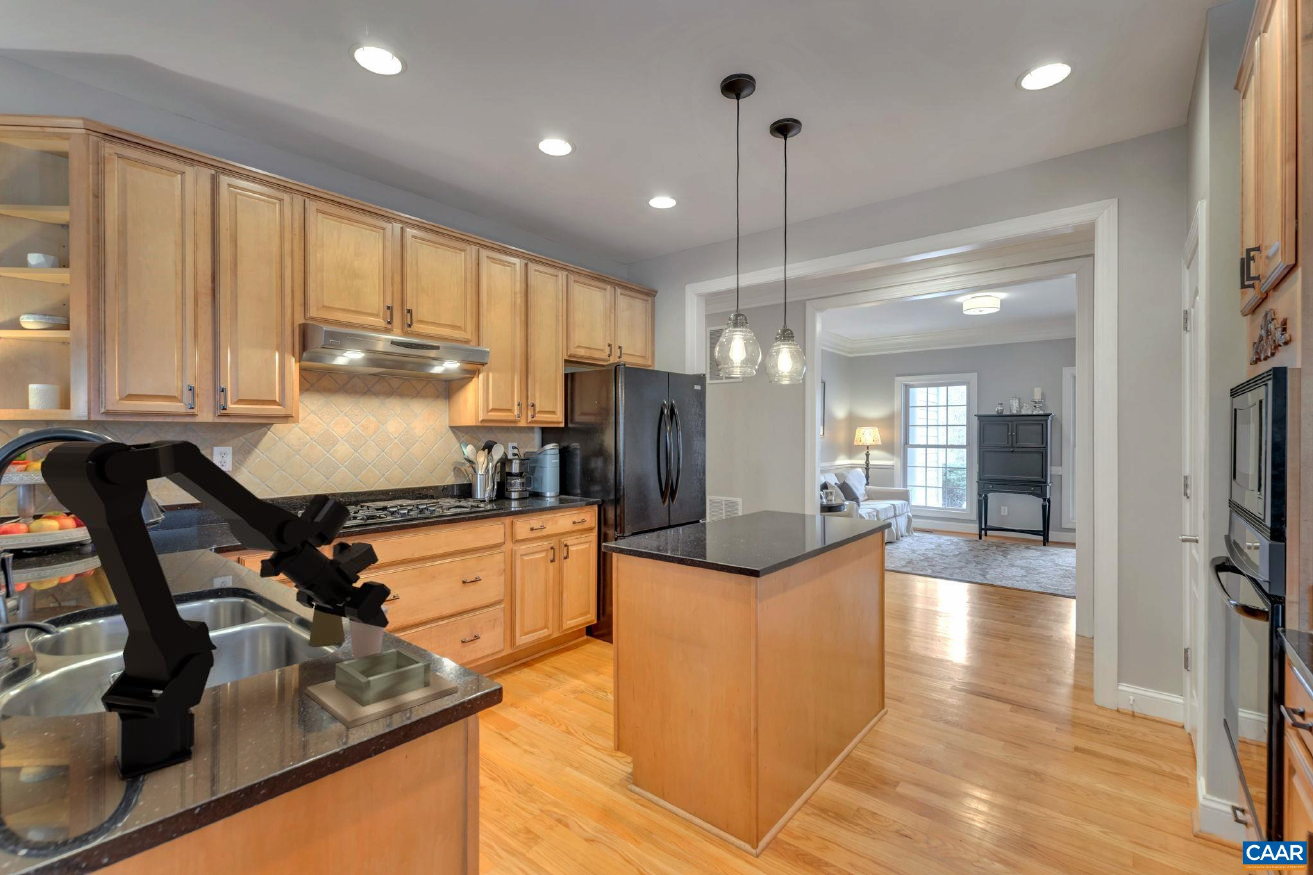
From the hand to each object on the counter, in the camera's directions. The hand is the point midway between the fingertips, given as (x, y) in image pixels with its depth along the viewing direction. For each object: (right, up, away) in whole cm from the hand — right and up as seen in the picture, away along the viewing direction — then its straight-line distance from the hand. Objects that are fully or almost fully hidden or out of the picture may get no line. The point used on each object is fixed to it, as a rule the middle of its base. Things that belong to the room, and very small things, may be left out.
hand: (374, 621), depth 104 cm
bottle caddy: (+7, -7, -12) cm, 16 cm away
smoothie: (-1, -7, -1) cm, 7 cm away
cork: (-14, -7, +11) cm, 19 cm away
